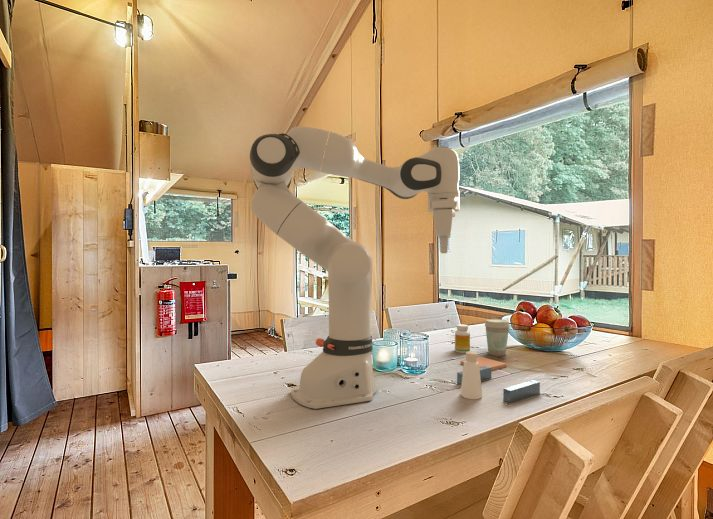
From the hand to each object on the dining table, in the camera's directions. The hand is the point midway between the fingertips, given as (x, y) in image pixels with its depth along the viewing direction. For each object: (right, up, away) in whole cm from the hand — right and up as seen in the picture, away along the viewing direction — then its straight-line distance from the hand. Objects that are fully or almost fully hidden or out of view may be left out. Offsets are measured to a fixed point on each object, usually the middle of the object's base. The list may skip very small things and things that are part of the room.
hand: (444, 253), depth 111 cm
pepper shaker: (+4, -37, -13) cm, 39 cm away
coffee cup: (+25, -36, +28) cm, 52 cm away
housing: (+12, -36, -8) cm, 39 cm away
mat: (+16, -36, +13) cm, 41 cm away
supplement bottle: (+14, -36, +31) cm, 49 cm away
